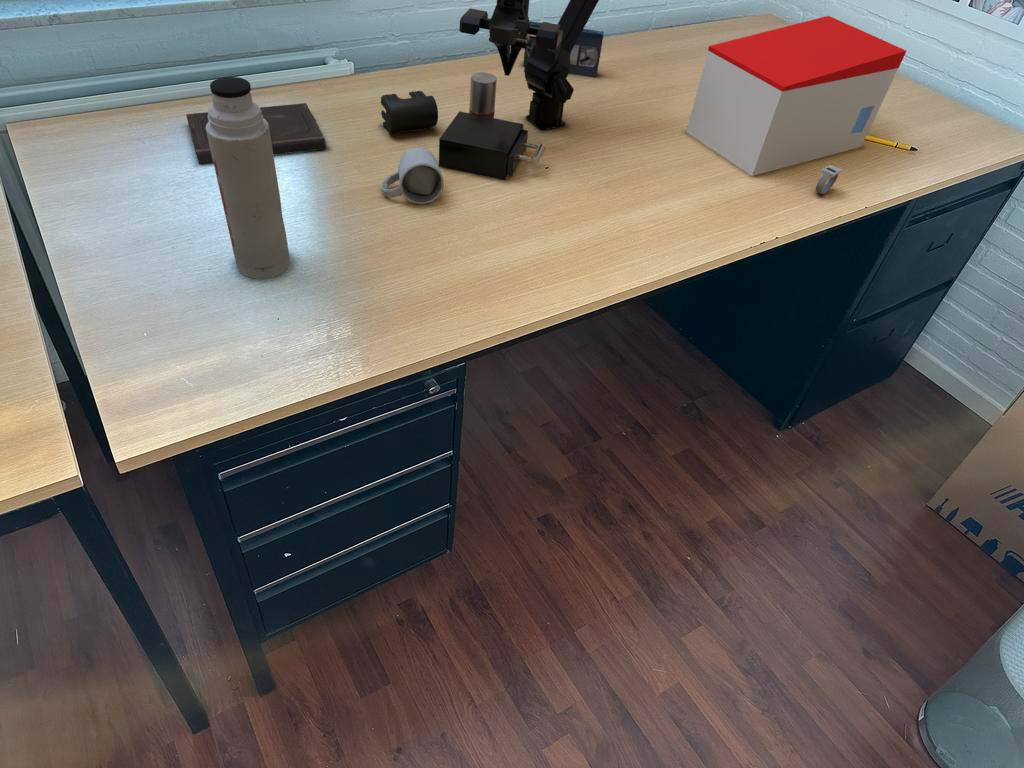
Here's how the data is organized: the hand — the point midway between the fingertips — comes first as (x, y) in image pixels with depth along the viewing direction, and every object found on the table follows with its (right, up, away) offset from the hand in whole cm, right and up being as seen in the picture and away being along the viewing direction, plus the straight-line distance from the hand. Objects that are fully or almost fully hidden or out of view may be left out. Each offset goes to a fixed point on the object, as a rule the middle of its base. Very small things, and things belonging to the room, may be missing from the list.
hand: (507, 74), depth 139 cm
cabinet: (-5, -16, +1) cm, 17 cm away
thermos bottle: (-38, -42, -28) cm, 63 cm away
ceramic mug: (-17, -26, -10) cm, 33 cm away
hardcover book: (-49, -13, -1) cm, 50 cm away
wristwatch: (+63, -22, +4) cm, 67 cm away
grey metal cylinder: (-6, -6, +11) cm, 14 cm away
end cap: (-20, -8, +7) cm, 23 cm away
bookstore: (+59, -6, +19) cm, 63 cm away
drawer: (-2, -16, 0) cm, 16 cm away
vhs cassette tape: (+13, +17, +36) cm, 42 cm away
